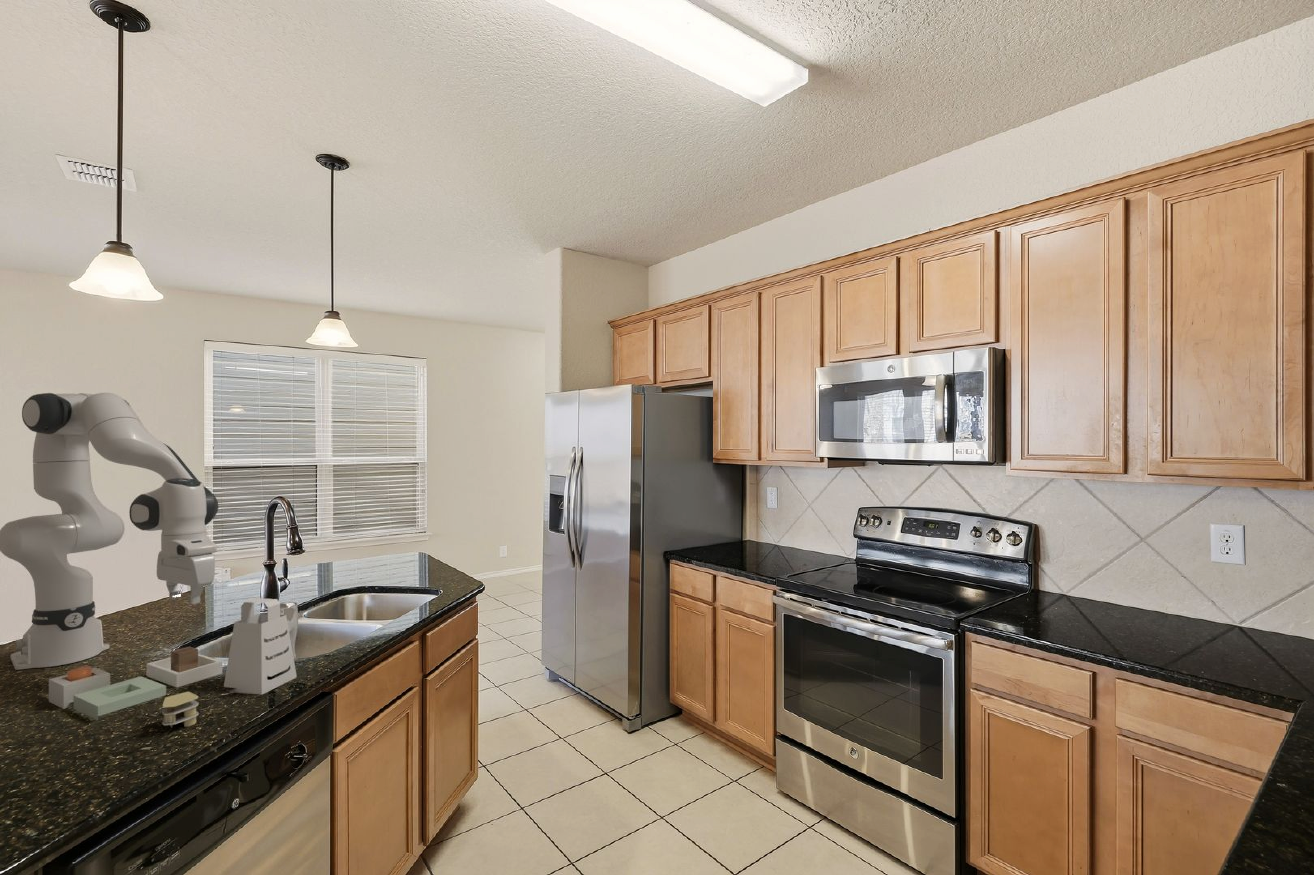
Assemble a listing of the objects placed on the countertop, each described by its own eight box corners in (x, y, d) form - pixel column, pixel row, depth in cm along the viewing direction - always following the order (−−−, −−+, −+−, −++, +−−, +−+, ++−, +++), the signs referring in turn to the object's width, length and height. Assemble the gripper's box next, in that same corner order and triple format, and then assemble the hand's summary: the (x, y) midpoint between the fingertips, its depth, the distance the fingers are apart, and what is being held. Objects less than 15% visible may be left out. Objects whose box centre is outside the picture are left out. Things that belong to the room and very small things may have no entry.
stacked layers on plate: (145, 726, 125) (145, 700, 125) (199, 711, 132) (199, 686, 132) (157, 742, 118) (157, 713, 118) (212, 725, 125) (212, 698, 125)
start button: (64, 684, 137) (64, 671, 137) (87, 678, 141) (87, 665, 141) (71, 687, 135) (71, 674, 135) (95, 681, 139) (95, 668, 139)
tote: (146, 680, 148) (146, 663, 148) (191, 667, 157) (191, 651, 157) (176, 691, 141) (176, 674, 141) (222, 677, 150) (222, 661, 150)
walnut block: (170, 676, 148) (170, 651, 148) (189, 670, 152) (189, 646, 152) (179, 679, 146) (179, 654, 146) (198, 673, 150) (198, 649, 150)
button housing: (48, 701, 136) (48, 679, 136) (94, 688, 143) (94, 667, 143) (63, 708, 132) (63, 685, 132) (110, 695, 139) (110, 673, 139)
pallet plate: (73, 709, 132) (73, 695, 132) (140, 689, 143) (140, 676, 143) (97, 720, 127) (97, 706, 127) (166, 699, 137) (166, 685, 137)
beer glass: (304, 659, 162) (304, 602, 162) (280, 668, 156) (280, 609, 156) (285, 656, 165) (285, 600, 165) (260, 665, 158) (260, 607, 158)
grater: (260, 674, 152) (260, 594, 152) (296, 677, 150) (296, 596, 150) (222, 691, 141) (222, 605, 142) (261, 694, 140) (261, 607, 140)
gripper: (148, 543, 151) (148, 599, 151) (190, 549, 142) (190, 609, 141) (178, 539, 157) (178, 593, 157) (220, 545, 147) (220, 602, 147)
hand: (184, 601), depth 149 cm, fingers open, 8 cm apart
